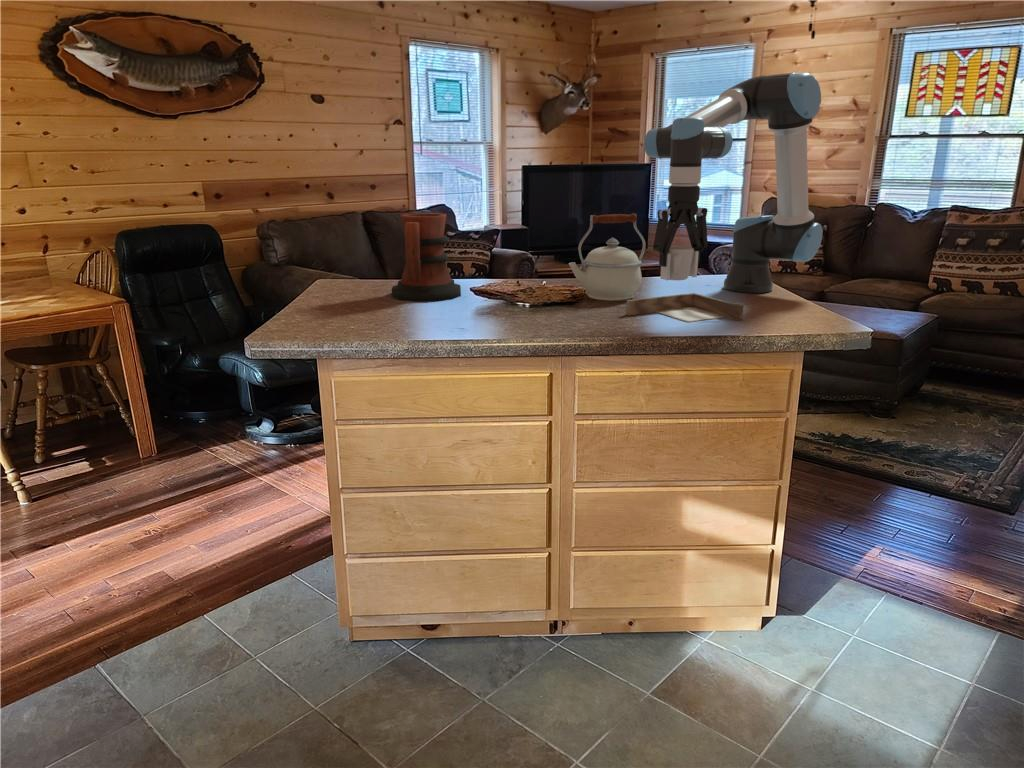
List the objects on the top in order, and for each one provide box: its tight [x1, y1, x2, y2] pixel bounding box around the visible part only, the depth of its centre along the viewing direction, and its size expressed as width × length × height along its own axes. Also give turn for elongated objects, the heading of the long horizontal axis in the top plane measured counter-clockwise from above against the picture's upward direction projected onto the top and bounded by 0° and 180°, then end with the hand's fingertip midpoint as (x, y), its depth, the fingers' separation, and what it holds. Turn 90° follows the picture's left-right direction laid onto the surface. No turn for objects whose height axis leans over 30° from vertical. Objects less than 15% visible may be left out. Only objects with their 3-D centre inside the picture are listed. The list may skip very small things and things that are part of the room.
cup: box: [668, 245, 694, 281], centre depth 184 cm, size 11×8×8 cm
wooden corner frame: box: [625, 292, 745, 323], centre depth 197 cm, size 23×20×4 cm
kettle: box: [568, 212, 647, 302], centre depth 222 cm, size 25×18×25 cm
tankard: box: [391, 212, 462, 303], centre depth 224 cm, size 22×25×25 cm
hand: (678, 277), depth 186 cm, fingers closed on cup, 8 cm apart
